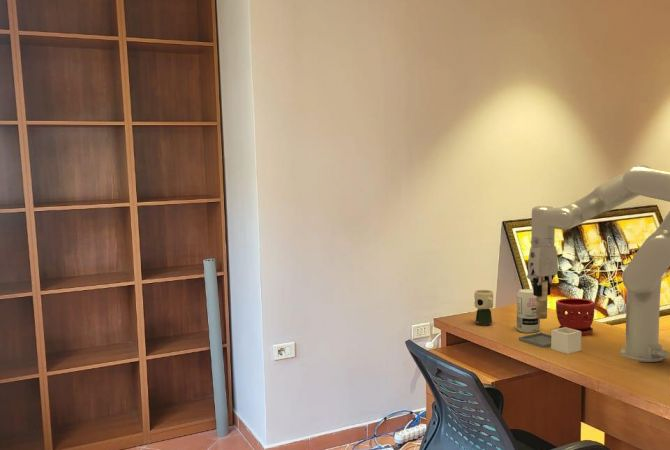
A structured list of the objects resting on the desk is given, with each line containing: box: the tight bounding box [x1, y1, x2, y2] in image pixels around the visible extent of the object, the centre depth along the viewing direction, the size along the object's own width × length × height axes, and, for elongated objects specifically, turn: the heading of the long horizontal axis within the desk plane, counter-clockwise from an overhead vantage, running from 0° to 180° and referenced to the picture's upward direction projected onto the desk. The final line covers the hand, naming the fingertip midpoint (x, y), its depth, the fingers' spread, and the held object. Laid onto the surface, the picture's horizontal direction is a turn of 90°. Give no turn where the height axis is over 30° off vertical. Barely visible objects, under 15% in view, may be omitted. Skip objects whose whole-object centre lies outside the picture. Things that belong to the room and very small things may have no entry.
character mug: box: [473, 289, 494, 326], centre depth 245 cm, size 11×7×13 cm, turn 22°
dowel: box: [536, 279, 548, 320], centre depth 217 cm, size 4×4×13 cm
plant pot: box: [555, 297, 595, 337], centre depth 229 cm, size 13×13×12 cm
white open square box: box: [550, 327, 582, 355], centre depth 208 cm, size 7×7×7 cm
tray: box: [518, 332, 551, 349], centre depth 219 cm, size 11×11×2 cm
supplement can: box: [516, 288, 541, 334], centre depth 234 cm, size 8×8×15 cm
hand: (541, 294), depth 217 cm, fingers closed on dowel, 3 cm apart
